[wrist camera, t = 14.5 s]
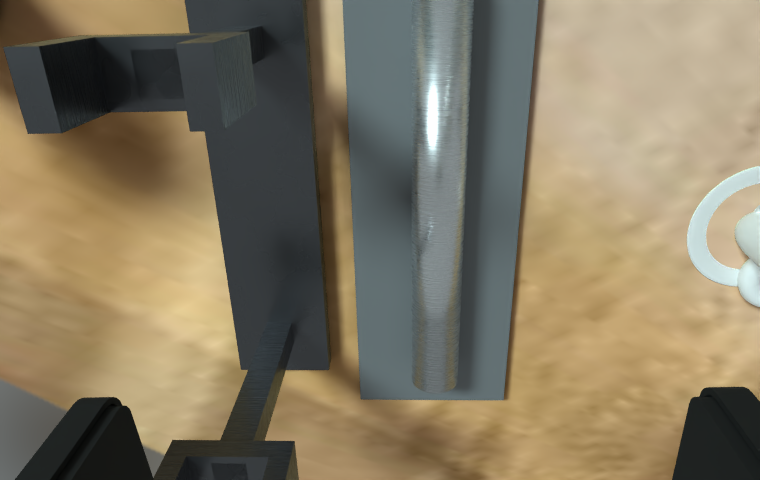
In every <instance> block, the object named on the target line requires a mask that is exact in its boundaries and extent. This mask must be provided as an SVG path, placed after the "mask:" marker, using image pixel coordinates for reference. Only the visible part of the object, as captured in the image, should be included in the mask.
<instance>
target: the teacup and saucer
mask: <svg viewBox="0 0 760 480" xmlns="http://www.w3.org/2000/svg"><path fill="white" fill-rule="evenodd" d="M759 183H760V166H757V167H753V168H749V169H746V170H744V171H741V172H739V173H736V174H734V175H732V176H731V177H729V178H727V179H726V180H724V181H723V182H721V183H720V184H718V185H717V186H716V187H715V188H714V189H712V190H711V191H710V192H709V193H708V194H707V195H706V196H705V198H704V199H703V200H702V201H701V203H700V204H699V205H698V207H697V209H696V210H695V212H694V214H693V216H692V218H691V221H690V224H689V228H688V233H687V248H688V253H689V256H690V258H691V261H692V262H693V264H694V266H695V267H696V268H697V269H698V271H699V272H700V273H702V274H703V275H704V276H705V277H707V278H708V279H710V280H712V281H714V282H717V283H720V284H723V285H728V286H738V288H739V291H740V294H741V295H742V297H743V298H744V299H745V300H746V301H748V302H749V303H751V304H752V305H755V306H757V307H760V205H759V206H758V207H757V208H756V209H755V210H754V212H752V213H749V214H747V215H745V216H744V217H742V218H741V219H740V220H739V221H738V223H737V225H736V227H735V239H736V241H737V243H738V245H739V247H740V248H741V249H742V250H743V252H744V253H745V254H746V255H747V256H748V257H749V259H748V260H747V261H746V262H745V263H744V264H743V265H742V267H741V269H734V268H730V267H727V266H724V265H722V264H721V263H719V262H718V261H716V260H715V259H714V258H713V256H712V255H711V254H710V252H709V250H708V247H707V244H706V230H707V226H708V223H709V220H710V218H711V216H712V214H713V213H714V211H715V210H716V209H717V207H718V206H719V205H720V204H721V203H722V202H723V201H724V200H725V199H726V198H728V197H729V196H730V195H732V194H733V193H735V192H737V191H738V190H740V189H742V188H745V187H747V186H750V185H754V184H759Z"/></svg>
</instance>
